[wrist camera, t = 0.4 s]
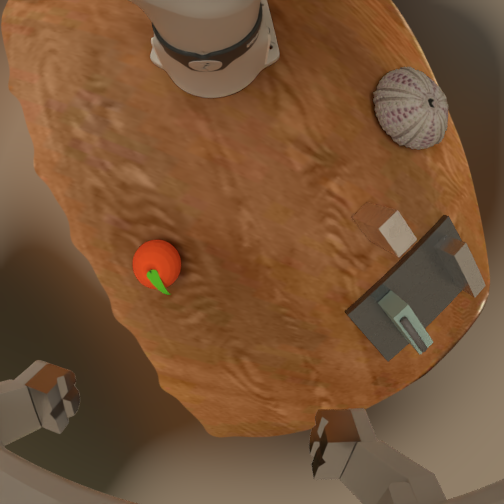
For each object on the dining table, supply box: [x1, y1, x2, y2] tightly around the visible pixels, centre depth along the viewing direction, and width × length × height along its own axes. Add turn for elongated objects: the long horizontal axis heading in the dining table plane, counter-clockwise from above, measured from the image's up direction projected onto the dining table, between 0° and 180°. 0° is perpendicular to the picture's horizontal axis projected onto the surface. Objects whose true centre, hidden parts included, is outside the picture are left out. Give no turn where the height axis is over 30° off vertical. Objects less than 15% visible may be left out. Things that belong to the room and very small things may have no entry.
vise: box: [345, 215, 485, 361], centre depth 46 cm, size 24×14×8 cm, turn 133°
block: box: [351, 202, 417, 257], centre depth 42 cm, size 4×5×10 cm
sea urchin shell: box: [373, 67, 448, 150], centre depth 39 cm, size 13×14×8 cm
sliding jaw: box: [378, 291, 433, 354], centre depth 45 cm, size 3×10×7 cm, turn 43°
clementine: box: [133, 240, 181, 295], centre depth 43 cm, size 8×7×7 cm
